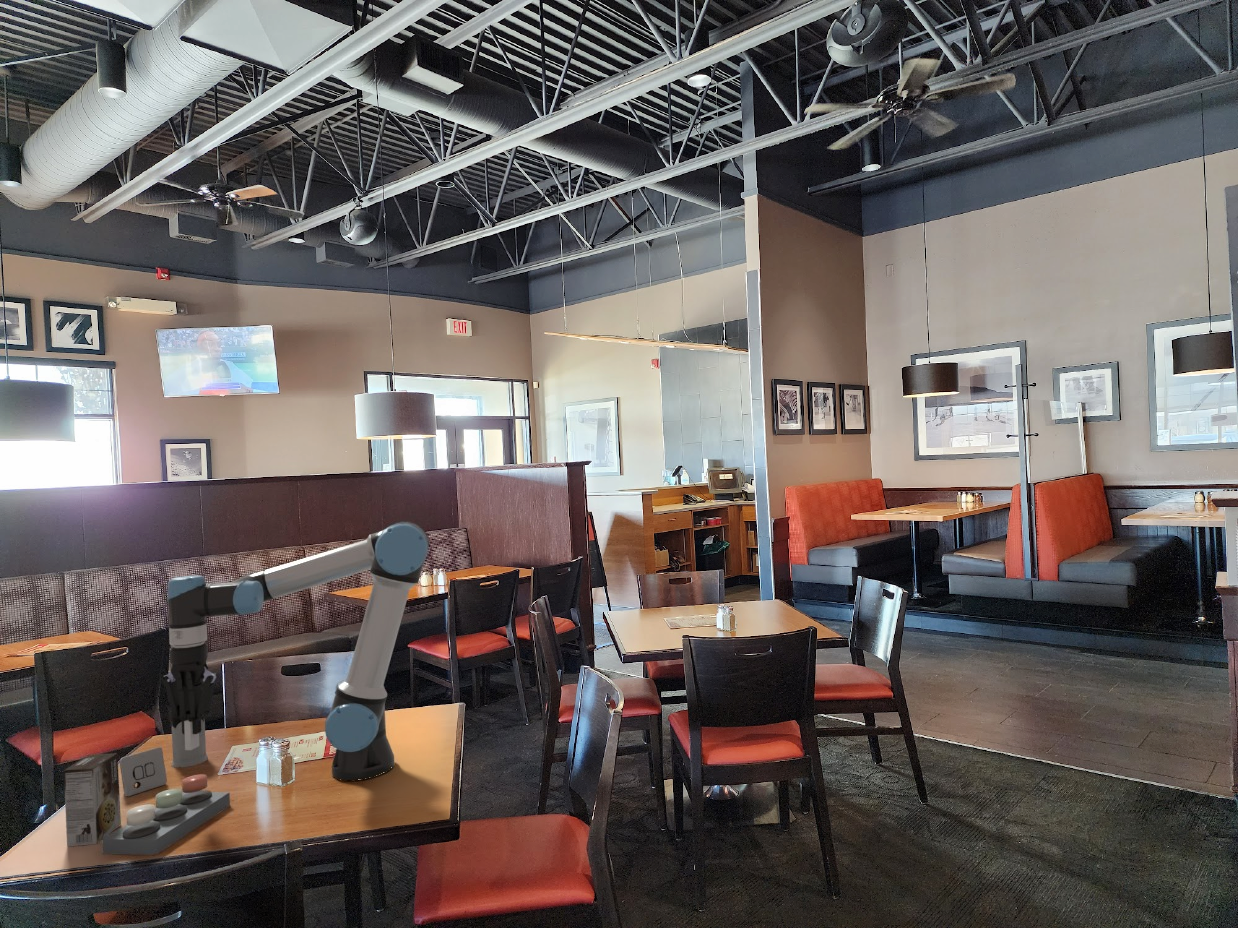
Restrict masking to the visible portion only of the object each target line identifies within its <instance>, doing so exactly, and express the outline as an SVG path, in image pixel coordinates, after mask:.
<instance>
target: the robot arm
mask: <svg viewBox="0 0 1238 928" xmlns="http://www.w3.org/2000/svg"><path fill="white" fill-rule="evenodd" d="M429 544H430V543H429V537H428V534H427V532H426V531H425V530H424V529H423V527H422V526H420V525H419V524H417V523H416V522H415V523H414V522H412V521H399V522H396V523H394V524H391V525H389V526H388V527H386V528H385V529H382V530H380V531H377V532H374V533H371V534H370V533H369V535H368V536H367V538H366V539H364V540H361V541H357V542H354V543H351V544H347V545H344V546H341V547H337V548H334V549H330V550H327V551H324V552H321V553H318V554H315V555H310V556H308V557H304V558H301V559H298V560H295V561H291V562H288V563H284V564H280V565H278V566H277V565H276V566H275V567H271V568H267V569H265V570H261V571H258V572H254V573H248V574H245V575H242V576H241V577H240V578H236V579H235V580H232V581H231V582H229V581H228V582H218V583H207V582H206V579H205V577H204V576H203V575H184V576H178V577H173V578H171V579H170V580H169V581H168V582H167V597H166V601H167V611H168V613H167V614H168V631H169V632H168V635H169V639H168V641H169V645H170V646H171V647H170V648H169V663H170V664H171V667H170V672H168V673H167V674H165V675H162V676H161V677H160V681H161V682H162V683H163V686H164V687H165V690H166V694H167V698H168V702H169V703H168V704H169V707H170V710H171V711H170V712H171V716H172V715H173V717H174V718H176V717H177V718H179V719H180V720H181V721H182V733H183V734H185V750H193V749H194V748H196V747H198V746H199V733H200V732H201V718H202V717H203V716H204V717H206V716H208V715H209V714H210V712H211V705H212V700H213V695H214V688H215V684H216V682H217V680H218V678H219V674H218V673H217V672H214V673H213V672H211V671H210V670H209V666H208V664H207V660H208V656H209V655H208V654H209V653H208V644H207V642H206V641H208V628H207V617H209V618H210V617H211V618H212V617H222V616H234V615H238V616H239V615H242V616H246V615H248V614H256V613H259V612H260V611H261V610H262V609H263V606H264V603H265V602H268V601H271V600H274V599H277V598H281V597H283V596H287V595H290V594H294V593H297V592H300V591H304V590H307V589H310V588H314V587H317V586H319V585H320V586H321V585H323V584H326V583H329V582H333V581H335V580H336V581H337V580H340V579H343V578H347V577H350V576H354V575H356V574H359V573H363V572H365V571H369V570H370V571H369V574H370V576H371V578H372V579H373V585H372V587H371V588H372V589H371V592H370V595H369V598H368V602H367V605H366V609H365V612H364V616H363V619H362V624H361V627H360V631H359V634H358V637H357V642H356V644H355V649H354V652H353V655H352V659H351V662H350V666H349V668H348V673H347V676H346V679H344V680H341V681H338V682H337V683H336V684H335V691H334V694H335V695H334V698H333V702H332V705H331V708H330V712H329V714H328V715H327V717H326V720H325V722H324V723H325V724H324V732H325V737H326V740H327V741H328V742H329V744H330V745H331V746H332V747H333V748H335V753H334V756H333V760H332V764H331V776H332V775H333V776H332V777H333V778H334V777H335V778H336V780H338V779H341V780H340V781H343V780H357V781H359V780H358V779H364V780H366V779H365V778H369V777H373V778H375V777H374V776H376V775H379V774H381V773H383V772H386V771H388V770H389V769H391V767H393V766H394V767H395V765H394V763H395V754H394V752H393V749H392V747H391V744H390V742H389V739H388V736H387V731H386V729H387V728H386V709H385V708H386V707H385V703H386V701H387V698H388V693H387V690H386V689H385V686H384V684H385V680H386V677H387V673H388V669H389V666H390V664H391V663H390V662H391V658H392V655H393V652H394V648H395V644H396V640H397V636H398V633H399V630H400V626H401V622H402V618H403V615H404V613H405V612H404V611H405V608H406V604H407V601H408V597H409V593H410V590H411V589H412V588H413V587H415V586H417V585H419V582H420V578H421V575H422V571H423V568H424V564H425V561H426V559H427V555H428V551H429V547H430V545H429ZM394 767H393V768H394ZM391 770H392V769H391ZM388 772H389V771H388ZM386 773H387V772H386ZM335 778H334V779H335ZM369 779H370V778H369Z"/></svg>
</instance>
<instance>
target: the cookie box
mask: <svg viewBox="0 0 1238 928" xmlns="http://www.w3.org/2000/svg"><path fill="white" fill-rule="evenodd" d="M63 778H64V779H63V781H64V798H65V799H64V802H65V803H64V804H65V806H64V807H65V823H66V824H65V828H66V846H67V847H74V846H75V847H77V846H78V845H79V846H87V845H88V846H90V845H98V844H99V843H101V842H102V839H103V838H105V837H106V836H108V835H110V834H111V833H113V832H115V831H116V829H117V828H119V827H120V826H121V825H122V815H121V799H120V794H121V793H120V780H119V779H120V777H119V761H118V752H115V753H96V754H95V753H93V754H88V755H86V756H84V757H83V758H81V759H80V760H78V761H76V762H74V763H73V764H72V765H70V766H68V767H67V768H65V769H64V770H63Z"/></svg>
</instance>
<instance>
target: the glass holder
mask: <svg viewBox="0 0 1238 928" xmlns="http://www.w3.org/2000/svg"><path fill="white" fill-rule="evenodd" d="M204 717H205V716H203V717H202V718H201V732H200V733H199V746H198V747H196V748H194V749H193V750H185V734H183V733H182V721H181V720H180V719H179V718H177V717H176V718H174V717H173V715H172V714H171V723H172V724H171V741H172V743H171V745H172V746H171V747H172V762H171V764H170V765H171V767H172V768H176V767H177V768H178V767H181V768H189V767H194V766H197V765H200V764H202V763H204V762H206V761H207V760H208V759H209V756H208V754H207V747H206V746H207V745H206V744H207V743H206V723H205V722H206V721H205V718H204ZM178 769H179V768H178Z"/></svg>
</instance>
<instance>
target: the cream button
mask: <svg viewBox="0 0 1238 928" xmlns="http://www.w3.org/2000/svg"><path fill="white" fill-rule="evenodd" d="M155 808H156V805H154V804H153V803H152V804H150V803H149V804H141V805H137V806H135V807H132V808H130V809H128V810H127V811H126V825H129V826H137V825H142V824H145V823H148V822H150V821H152V820H153V819H154V818H155Z"/></svg>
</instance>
